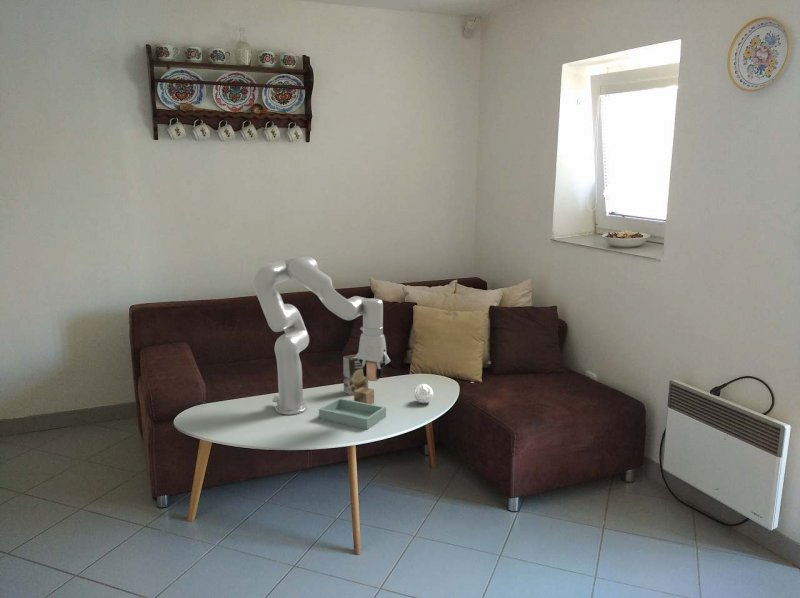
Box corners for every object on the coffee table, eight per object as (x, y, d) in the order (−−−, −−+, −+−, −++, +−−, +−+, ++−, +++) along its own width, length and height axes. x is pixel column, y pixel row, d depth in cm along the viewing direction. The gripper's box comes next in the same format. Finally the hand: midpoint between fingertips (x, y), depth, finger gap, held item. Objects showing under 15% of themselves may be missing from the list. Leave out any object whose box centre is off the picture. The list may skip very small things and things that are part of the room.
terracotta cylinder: (364, 379, 241) (364, 362, 240) (370, 376, 246) (370, 358, 244) (375, 381, 239) (375, 364, 238) (381, 378, 243) (381, 360, 242)
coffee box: (350, 395, 270) (349, 359, 266) (343, 391, 275) (342, 356, 272) (368, 391, 275) (368, 356, 271) (361, 387, 280) (360, 352, 277)
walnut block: (354, 405, 259) (353, 391, 258) (361, 400, 264) (361, 387, 263) (366, 407, 256) (366, 393, 255) (374, 403, 261) (374, 389, 260)
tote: (319, 418, 244) (318, 409, 244) (339, 407, 256) (339, 397, 256) (367, 429, 234) (367, 419, 233) (386, 416, 246) (385, 407, 245)
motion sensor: (414, 405, 258) (414, 387, 256) (413, 399, 265) (413, 381, 264) (433, 405, 258) (433, 387, 256) (432, 399, 265) (432, 381, 264)
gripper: (348, 330, 239) (348, 376, 242) (388, 336, 231) (387, 383, 235) (358, 326, 245) (358, 370, 249) (397, 331, 238) (396, 377, 242)
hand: (372, 376), depth 242 cm, fingers closed on terracotta cylinder, 5 cm apart
